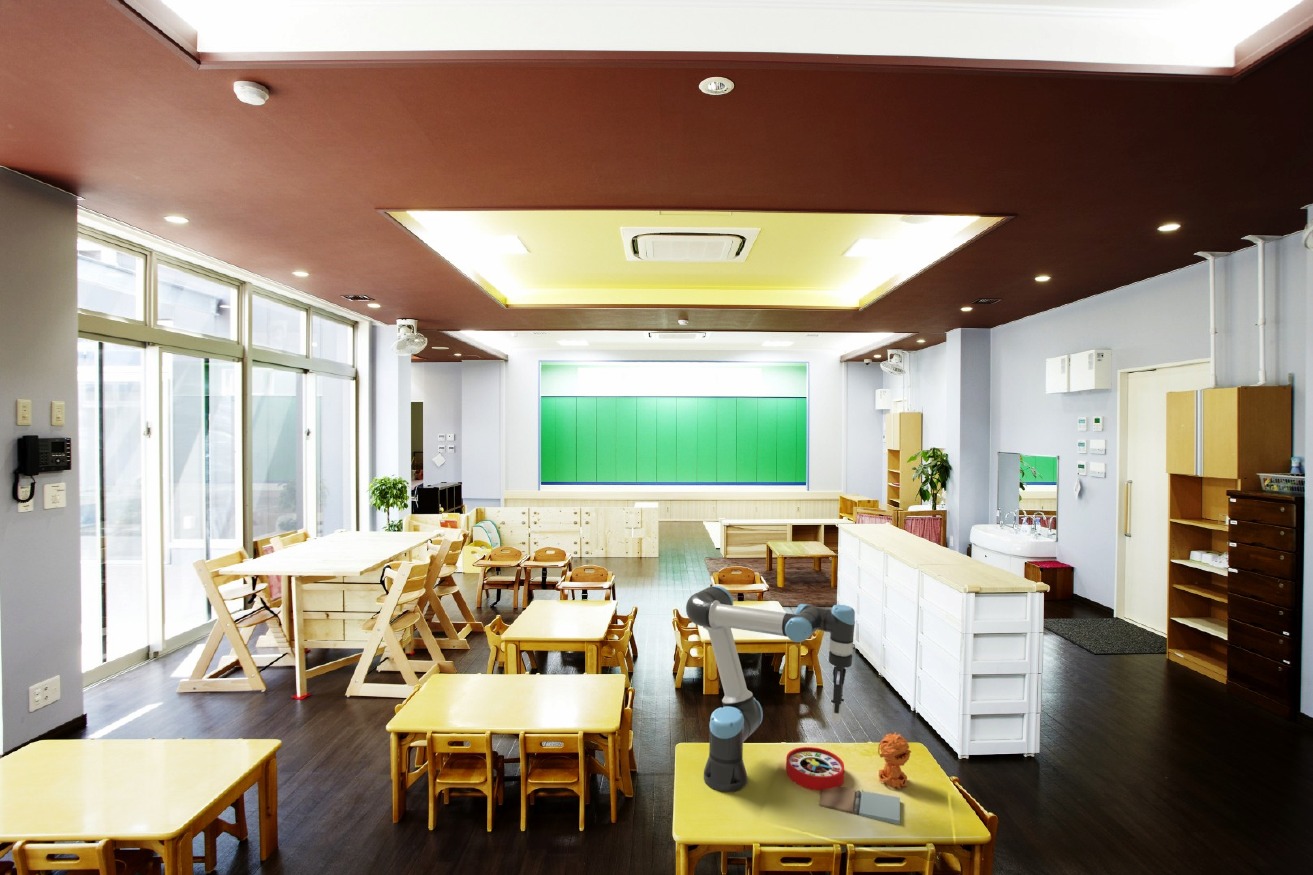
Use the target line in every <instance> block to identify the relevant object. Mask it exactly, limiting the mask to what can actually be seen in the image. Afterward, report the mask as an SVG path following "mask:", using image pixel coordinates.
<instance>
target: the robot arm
mask: <svg viewBox="0 0 1313 875" xmlns="http://www.w3.org/2000/svg"><path fill="white" fill-rule="evenodd" d="M685 613H686V615H687V618H688V619H689V620H690V621H691V623H692V624H694V625H696V626H699V627H703V629H705V630H706V631H707V632H708V635H709V640H710V643H711V644H710V645H711V647H712V650H713V654H714V659H715V663H716V666H717V670H718V673H719V678H720V681H721V685H722V689H723V693H724V696H723V698H722V699H721V702H722V706H723V707H721V706H720V707H718V708H716V709H715V710H714V711H712V713H711V715H710V719H709V720H710V721H709V742H708V744H709V747H708V748H709V749H708V750H709V754H708V758H707V761H706V764H705V767H704V769H703V780H704V783H705V784H706V785H707V786H708V787H710V788H711V789H713V790H717V791H719V792H724V793H725V792H727V793H730V792H731V793H733V792H737V791H741V790H742V789H744V788H745V787H746V786H747V784H748V774H747V770H746V767H745V763H744V758H743V753H744V752H743V750H744V742H745V741H746V740H747V739H748V738H749V737H750V736H751V735H752V734H753V733H754V732H756V731H757V730H758V728H759V727H760V725H761V723H762V721H763V716H764V714H763V711H764V710H763V708H762V706H761V704H760V701H758V700H756V698H755V697H754V695H753V692H752V691H750V690H748V688H747V683H746V680H745V676H744V672H743V669H742V664H741V661H740V657H739V654H738V651H737V650H738V649H737V647H736V642H735V638H734V635H733V630H732V629H735V630H742V631H749V632H754V633H762V634H766V635H774V636H779V637H780V636H781V637H787V638H788V639H789V640H790V641H792V642H794V643H802V642H804V641H806V640H808V639H809V638H810V637H811V636H812V634H814V633H816V631H821V632H825V633H830V635H829V636H830V637H829V645H828V646H829V648H828V649H829V651H828V652H829V653H828V663H829V664H830V665H832V666H833V669H832V675H833V676H832V677H833V678H832V679H833V680H832V682H833V694H832V695H833V696H832V699H831V700H830V703H832V714H831V722H834V723H839V724H840V723H841V721H842V720H841V719H842V705H843V703H842V702H845V698H843V691H844V684H845V679H846V678H845V677H846V673H847V668H850V667H851V666H852V664H853V648H855V647H856V645H855V644H854V636H855V624H856V621H855V619H856V618H855V617H856V616H855V615H856V611H855V609H854V608H853V607H852V606H849V605H845V604H834V605H833V606H832V609H829V608H825V607H820V606H815V605H811V604H805V603H800V604H798V605H797V608H796V609H795V613H787V612H781V611H775V610H767V609H760V608H754V607H753V608H751V607H745V606H739V605H738V606H737V605H734V599H733V597H732V594H731V593H730V592H729V591H728V590H727V589H726V588H725V587H723V586H720V585H712V586H708V587H705V588H704V589H702V590H700V591H698V592H696V593H694V594H692V595H691V596H690V597H689V599H687V601H686V606H685Z"/></svg>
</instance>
